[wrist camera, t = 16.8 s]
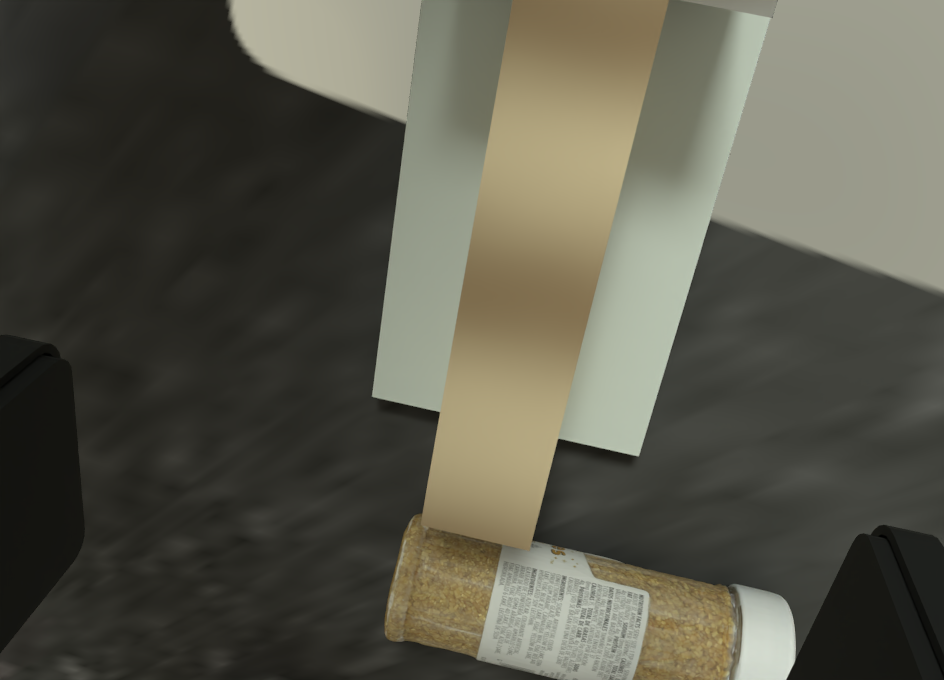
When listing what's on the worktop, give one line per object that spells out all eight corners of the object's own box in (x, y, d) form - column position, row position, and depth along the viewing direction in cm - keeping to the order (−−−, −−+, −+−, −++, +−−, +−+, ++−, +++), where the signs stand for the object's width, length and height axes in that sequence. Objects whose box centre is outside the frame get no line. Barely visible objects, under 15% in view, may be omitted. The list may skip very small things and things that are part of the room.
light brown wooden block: (607, 446, 28) (603, 568, 23) (399, 399, 29) (348, 508, 24) (751, -58, 22) (792, -50, 16) (475, -110, 22) (427, -118, 17)
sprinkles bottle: (415, 521, 34) (761, 600, 33) (385, 643, 32) (749, 730, 31) (409, 499, 29) (807, 589, 29) (374, 638, 28) (795, 738, 27)
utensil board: (448, -143, 23) (439, -146, 22) (791, -81, 22) (800, -82, 21) (380, 379, 30) (371, 396, 29) (638, 436, 29) (638, 456, 28)
